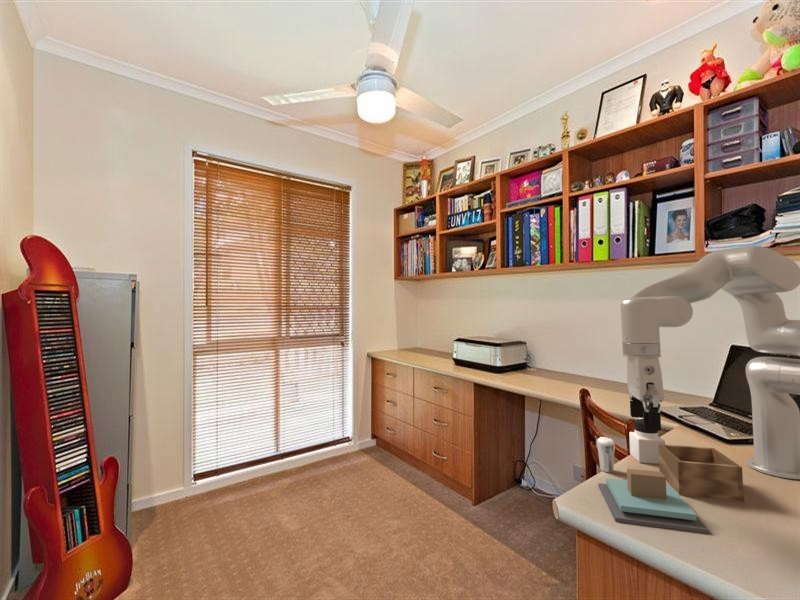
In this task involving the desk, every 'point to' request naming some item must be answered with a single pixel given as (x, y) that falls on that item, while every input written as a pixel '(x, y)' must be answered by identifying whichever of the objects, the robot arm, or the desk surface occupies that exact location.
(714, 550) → the desk surface
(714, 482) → the storage box
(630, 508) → the lid
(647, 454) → the medicine bottle
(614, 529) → the desk surface
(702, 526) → the desk mat
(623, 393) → the desk surface
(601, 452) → the milkshake
